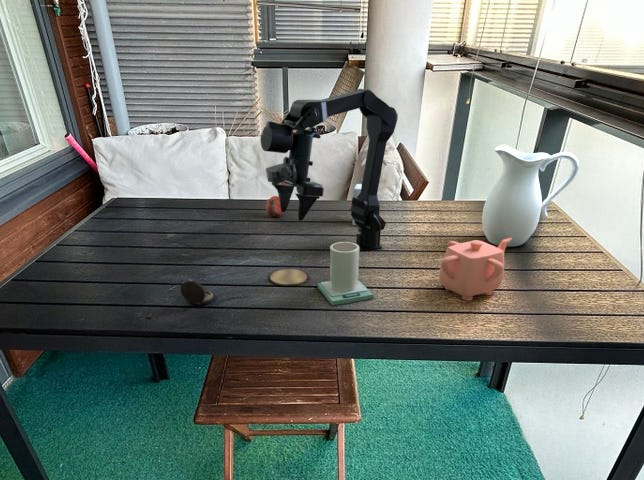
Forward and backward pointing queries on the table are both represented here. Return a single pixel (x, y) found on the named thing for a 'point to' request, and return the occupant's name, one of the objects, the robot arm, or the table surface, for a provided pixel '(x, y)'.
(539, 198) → the pitcher
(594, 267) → the table surface
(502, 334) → the table surface
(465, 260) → the teapot
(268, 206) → the pomegranate
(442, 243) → the table surface
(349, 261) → the cup
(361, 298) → the scale
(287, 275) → the coaster
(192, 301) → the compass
